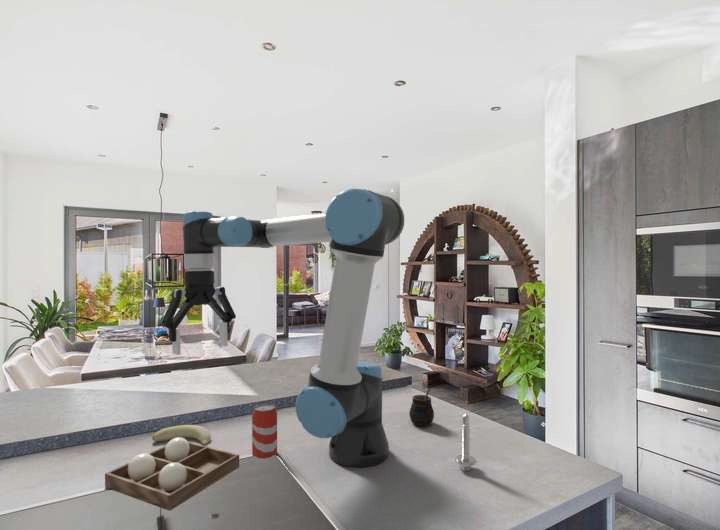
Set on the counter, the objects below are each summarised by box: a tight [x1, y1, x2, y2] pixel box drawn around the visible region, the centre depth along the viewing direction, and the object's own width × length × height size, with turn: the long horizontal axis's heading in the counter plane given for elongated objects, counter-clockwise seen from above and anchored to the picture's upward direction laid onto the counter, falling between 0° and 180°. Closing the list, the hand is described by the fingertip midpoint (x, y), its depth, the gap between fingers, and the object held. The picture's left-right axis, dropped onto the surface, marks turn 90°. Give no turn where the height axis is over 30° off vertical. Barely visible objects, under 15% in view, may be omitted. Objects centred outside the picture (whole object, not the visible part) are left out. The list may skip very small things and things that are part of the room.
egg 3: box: [158, 462, 187, 492], centre depth 93 cm, size 6×6×6 cm
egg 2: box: [165, 437, 190, 462], centre depth 106 cm, size 6×6×6 cm
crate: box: [104, 441, 240, 512], centre depth 99 cm, size 20×20×3 cm
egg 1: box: [128, 452, 156, 481], centre depth 97 cm, size 6×6×6 cm
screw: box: [454, 413, 477, 472], centre depth 103 cm, size 13×5×5 cm
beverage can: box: [251, 403, 278, 459], centre depth 111 cm, size 6×6×12 cm
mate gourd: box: [409, 387, 435, 428], centre depth 131 cm, size 7×8×10 cm
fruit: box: [151, 424, 212, 446], centre depth 120 cm, size 7×15×3 cm, turn 86°
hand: (201, 349), depth 117 cm, fingers open, 13 cm apart
